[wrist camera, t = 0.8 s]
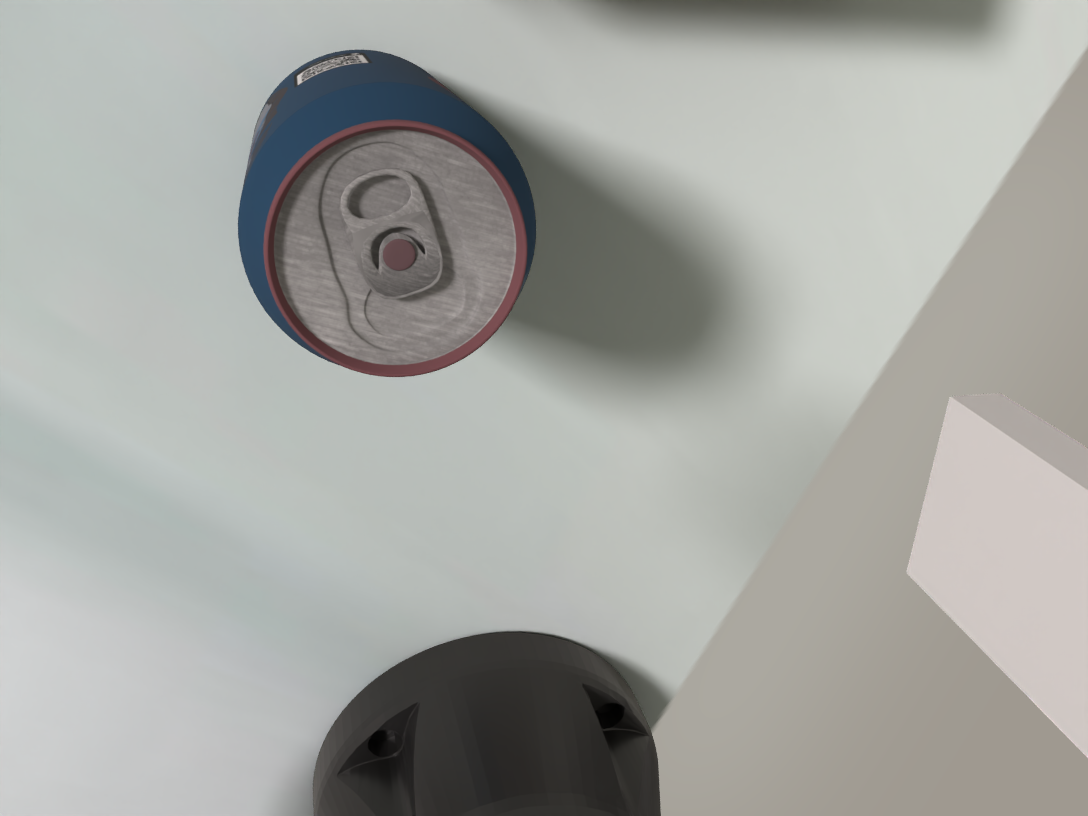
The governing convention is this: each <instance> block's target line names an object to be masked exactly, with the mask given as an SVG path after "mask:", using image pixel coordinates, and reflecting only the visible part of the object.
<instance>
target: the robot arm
mask: <svg viewBox="0 0 1088 816" xmlns="http://www.w3.org/2000/svg"><path fill="white" fill-rule="evenodd" d="M906 573H907V574H908V575H909V576H910V577H911V578H912V579H913V580H914V581H915V582H916V583H917V584H918V585H919V586H920V587H921V588H922V589H923V590H924V591H925V592H926V593H927V594H928V595H929V596H930V597H931V598H932V600H933V601H934V602H935V603H936V604H937V605H938V606H940V608H941V609H942V610H943V611H944V612H945V613H946V614H947V615H948V616H949V617H950V618H951V619H952V620H953V621H954V622H955V623H956V624H957V625H958V626H959V627H960V628H961V629H962V630H963V631H964V632H965V633H966V634H967V635H968V636H969V637H970V638H971V639H972V640H973V641H974V642H975V643H976V644H977V645H978V646H979V647H980V648H981V649H982V651H984V652H985V654H986V655H988V657H989V658H990V659H991V660H992V661H993V662H994V663H995V664H996V665H997V666H998V667H999V668H1000V669H1001V670H1002V671H1003V672H1004V673H1005V674H1006V675H1007V676H1008V677H1009V678H1010V679H1011V680H1012V681H1013V682H1014V683H1015V684H1016V685H1017V686H1018V687H1019V688H1020V689H1021V690H1022V691H1023V692H1024V693H1025V694H1026V695H1027V696H1028V697H1029V698H1030V699H1031V700H1032V701H1033V702H1034V703H1035V705H1036V706H1037V707H1038V708H1039V709H1040V710H1041V711H1042V712H1043V713H1044V714H1045V715H1046V716H1047V717H1048V718H1049V719H1050V720H1051V721H1052V722H1053V723H1054V724H1055V725H1056V726H1057V727H1058V728H1059V729H1060V730H1061V731H1062V732H1063V733H1064V734H1065V735H1066V736H1067V737H1068V738H1069V739H1070V740H1071V741H1072V742H1073V743H1074V744H1075V745H1076V746H1077V747H1078V748H1079V749H1080V750H1081V751H1082V753H1083V754H1084V755H1085V756H1086V757H1087V758H1088V448H1087V447H1086V446H1084V445H1082V444H1081V443H1079V442H1078V441H1076V440H1074V439H1073V438H1071V437H1070V436H1068V435H1066V434H1065V433H1063V432H1062V431H1060V430H1058V429H1057V428H1055V427H1054V426H1052V425H1051V424H1049V423H1047V422H1046V421H1044V420H1042V419H1041V418H1039V417H1038V416H1036V415H1035V414H1033V413H1032V412H1030V411H1028V410H1027V409H1025V408H1024V407H1022V406H1020V405H1019V404H1017V403H1016V402H1014V401H1012V400H1011V399H1009V398H1007V397H1006V396H1004V395H1003V394H1001V393H995V394H979V395H962V396H950V398H949V402H948V406H947V410H946V415H945V418H944V422H943V426H942V430H941V434H940V439H939V443H938V447H937V451H936V455H935V459H934V463H933V467H932V471H931V475H930V479H929V483H928V487H927V491H926V495H925V499H924V503H923V507H922V511H921V515H920V519H919V523H918V528H917V531H916V535H915V539H914V543H913V547H912V551H911V555H910V559H909V563H908V568H907V572H906ZM658 773H659V772H658V758H657V753H656V747H655V744H654V740H653V736H652V733H651V730H650V728H649V726H648V723H647V721H646V719H645V717H644V715H643V713H642V711H641V708H640V706H639V704H638V702H637V700H636V698H635V696H634V694H633V692H632V690H631V688H630V687H629V685H628V684H627V682H626V681H625V680H624V678H623V677H622V676H621V675H620V674H619V673H618V672H617V671H616V670H615V669H614V668H613V667H612V666H611V665H610V664H609V663H608V662H606V661H605V660H604V659H602V658H601V657H599V656H598V655H596V654H595V653H593V652H591V651H589V650H588V649H586V648H583V647H581V646H579V645H577V644H574V643H571V642H569V641H566V640H562V639H559V638H555V637H551V636H546V635H540V634H532V633H491V634H483V635H476V636H471V637H466V638H462V639H458V640H454V641H450V642H447V643H444V644H441V645H438V646H435V647H433V648H430V649H427V650H425V651H423V652H420V653H418V654H416V655H414V656H412V657H410V658H408V659H406V660H404V661H402V662H400V663H399V664H397V665H396V666H394V667H392V668H391V669H389V670H388V671H386V672H385V673H383V674H382V675H380V676H379V677H378V678H376V679H375V680H374V681H373V682H371V683H370V684H369V685H368V686H366V687H365V688H364V689H363V690H362V691H361V692H360V693H359V694H358V695H357V696H356V697H355V698H354V699H353V700H352V701H351V702H350V703H349V704H348V705H347V707H346V708H345V709H344V710H343V711H342V713H341V714H340V715H339V717H338V718H337V720H336V721H335V722H334V724H333V726H332V727H331V729H330V731H329V732H328V734H327V736H326V738H325V740H324V742H323V745H322V747H321V750H320V752H319V755H318V759H317V762H316V766H315V771H314V779H313V807H314V816H661V813H660V792H659V774H658Z"/></svg>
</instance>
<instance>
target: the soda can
mask: <svg viewBox="0 0 1088 816" xmlns="http://www.w3.org/2000/svg"><path fill="white" fill-rule="evenodd" d="M238 238H239V246H240V252H241V257H242V262H243V265H244V268H245V272H246V275H247V277H248V280H249V282H250V285H251V287H252V289H253V291H254V293H255V295H256V297H257V298H258V300H259V302H260V303H261V305H262V306H263V308H264V309H265V311H266V312H267V314H268V315H269V316H270V317H271V318H272V320H273V321H274V322H275V323H276V324H277V325H278V326H279V327H280V328H281V329H282V331H284V332H285V333H286V334H287V335H288V336H289V337H290V338H291V339H293V340H294V341H295V342H297V343H298V344H299V345H301V346H302V347H304V348H305V349H307V350H308V351H310V352H312V353H313V354H315V355H317V356H319V357H321V358H323V359H325V360H327V361H329V362H332V363H335V364H337V365H340V366H343V367H346V368H348V369H351V370H354V371H357V372H361V373H365V374H370V375H376V376H384V377H406V376H415V375H421V374H426V373H430V372H433V371H437V370H440V369H442V368H445V367H448V366H450V365H452V364H454V363H456V362H458V361H460V360H462V359H463V358H465V357H467V356H468V355H470V354H471V353H473V352H474V351H475V350H477V349H478V348H479V347H481V346H482V345H483V344H484V343H485V342H486V341H487V340H488V339H489V338H490V337H491V336H492V335H493V334H494V333H495V332H496V331H497V330H498V328H499V327H500V326H501V325H502V323H503V322H504V321H505V319H506V318H507V316H508V314H509V313H510V311H511V309H512V307H513V305H514V304H515V302H516V300H517V298H518V296H519V294H520V292H521V291H522V289H523V286H524V284H525V282H526V279H527V276H528V273H529V271H530V267H531V264H532V260H533V255H534V249H535V240H536V219H535V210H534V203H533V199H532V194H531V190H530V187H529V184H528V181H527V178H526V176H525V173H524V171H523V169H522V167H521V165H520V163H519V161H518V159H517V157H516V155H515V154H514V152H513V150H512V149H511V148H510V146H509V145H508V143H507V142H506V140H505V139H504V138H503V137H502V136H501V135H500V133H499V132H498V131H497V130H496V129H495V128H494V127H493V126H492V125H491V124H490V123H489V122H488V121H487V120H486V119H485V118H483V117H482V116H481V115H480V114H479V113H477V112H476V111H475V110H474V109H472V108H471V107H470V106H469V105H467V104H466V103H465V102H464V101H462V100H461V99H460V98H459V97H457V96H456V95H455V94H454V93H452V92H451V91H450V90H449V89H447V88H446V87H445V86H444V85H442V84H441V83H440V82H439V81H437V80H436V79H435V78H434V77H432V76H431V75H430V74H429V73H427V72H426V71H424V70H423V69H421V68H420V67H418V66H417V65H415V64H413V63H411V62H409V61H407V60H405V59H402V58H400V57H397V56H394V55H391V54H388V53H383V52H378V51H372V50H346V51H340V52H335V53H331V54H327V55H324V56H321V57H318V58H316V59H314V60H312V61H310V62H308V63H306V64H304V65H302V66H301V67H299V68H298V69H296V70H295V71H294V72H292V73H291V74H290V75H289V76H287V77H286V78H285V79H284V80H283V81H282V82H281V83H280V84H279V85H278V87H277V88H276V89H275V90H274V91H273V93H272V94H271V95H270V97H269V98H268V100H267V102H266V103H265V105H264V107H263V109H262V111H261V113H260V116H259V118H258V121H257V124H256V127H255V130H254V135H253V140H252V145H251V150H250V155H249V160H248V165H247V170H246V175H245V180H244V185H243V190H242V195H241V200H240V207H239V217H238Z"/></svg>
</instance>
